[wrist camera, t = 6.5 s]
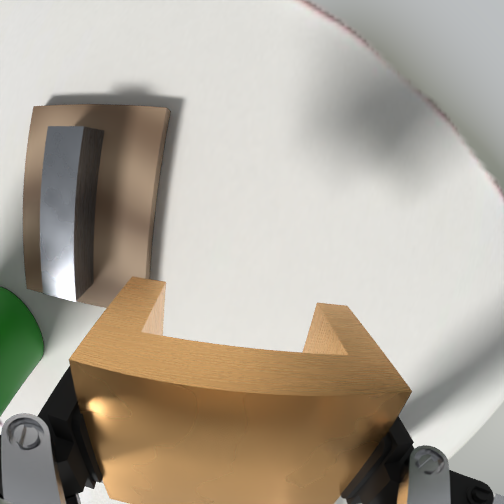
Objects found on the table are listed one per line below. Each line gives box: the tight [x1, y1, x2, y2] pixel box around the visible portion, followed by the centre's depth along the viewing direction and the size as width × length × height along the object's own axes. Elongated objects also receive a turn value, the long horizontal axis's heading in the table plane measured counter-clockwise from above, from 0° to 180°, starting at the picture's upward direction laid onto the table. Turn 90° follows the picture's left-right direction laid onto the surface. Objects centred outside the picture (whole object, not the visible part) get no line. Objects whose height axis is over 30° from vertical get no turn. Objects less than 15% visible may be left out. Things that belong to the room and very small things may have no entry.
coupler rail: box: [40, 126, 104, 302], centre depth 19 cm, size 12×3×4 cm, turn 170°
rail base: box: [23, 104, 171, 308], centre depth 21 cm, size 16×12×2 cm
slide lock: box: [69, 276, 412, 504], centre depth 8 cm, size 6×7×4 cm
